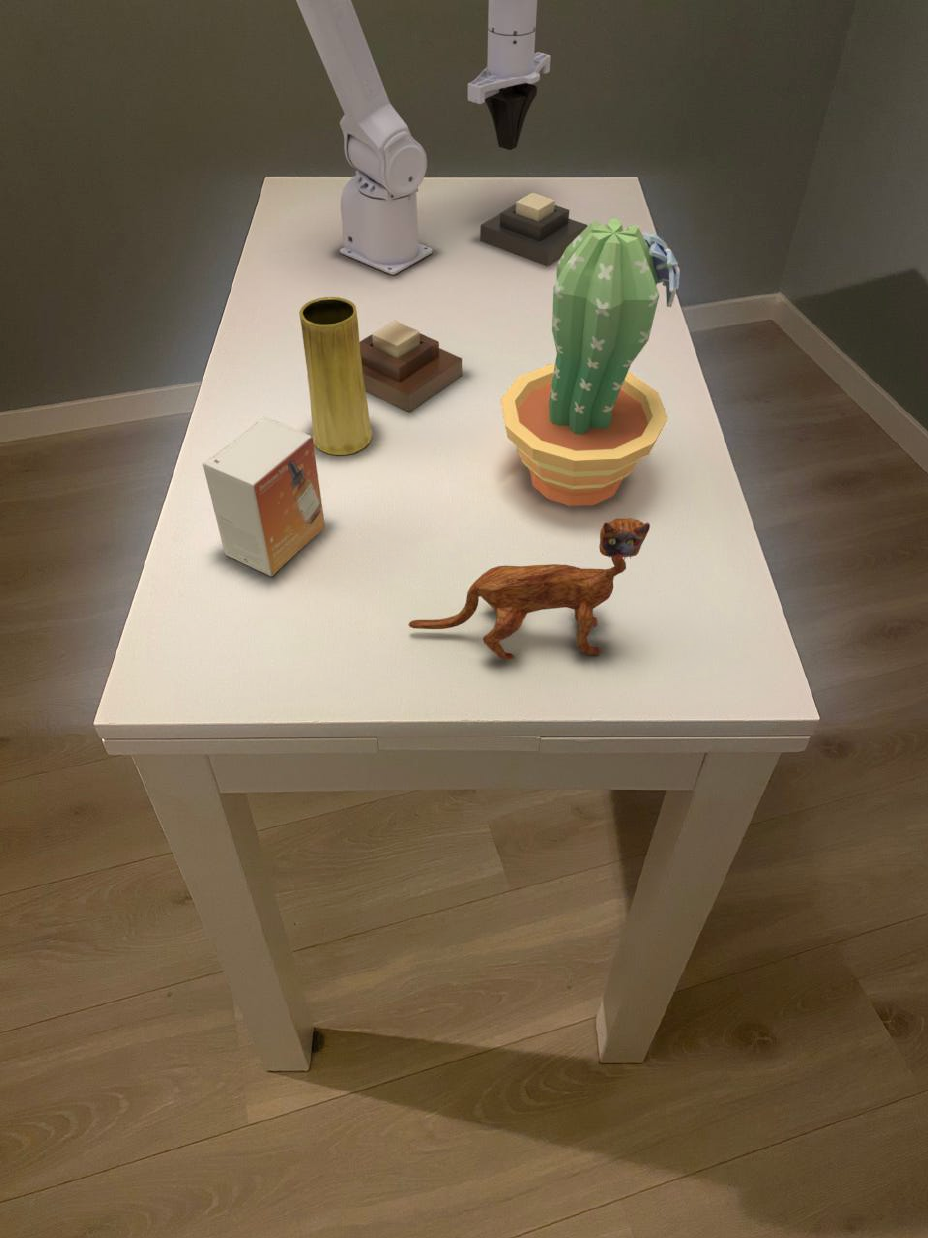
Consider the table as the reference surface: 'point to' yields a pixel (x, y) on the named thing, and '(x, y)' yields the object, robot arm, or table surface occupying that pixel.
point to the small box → (266, 495)
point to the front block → (408, 372)
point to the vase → (335, 376)
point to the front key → (396, 339)
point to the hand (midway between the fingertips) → (507, 146)
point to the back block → (532, 234)
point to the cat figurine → (549, 589)
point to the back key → (535, 207)
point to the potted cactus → (594, 368)
